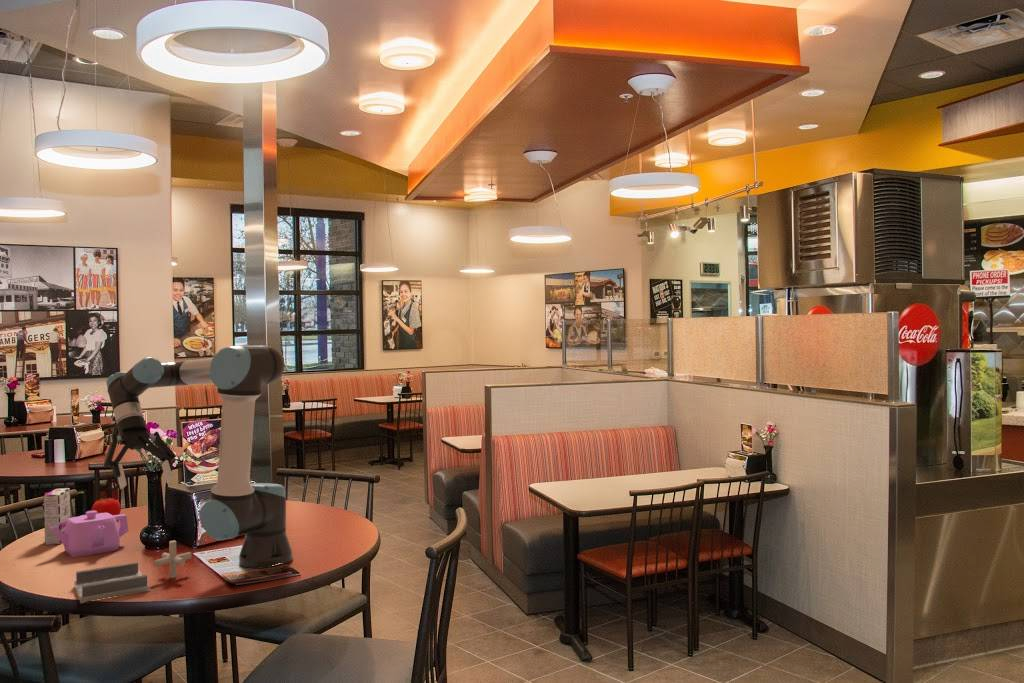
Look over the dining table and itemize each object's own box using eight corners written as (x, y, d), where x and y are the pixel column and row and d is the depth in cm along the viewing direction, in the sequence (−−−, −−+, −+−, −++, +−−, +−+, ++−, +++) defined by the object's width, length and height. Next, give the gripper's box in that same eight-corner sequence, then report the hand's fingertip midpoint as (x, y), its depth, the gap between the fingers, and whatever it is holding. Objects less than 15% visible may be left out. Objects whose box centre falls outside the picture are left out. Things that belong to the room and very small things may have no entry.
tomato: (126, 517, 287) (125, 495, 287) (108, 524, 277) (108, 501, 277) (102, 517, 288) (102, 495, 288) (84, 524, 278) (84, 500, 278)
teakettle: (132, 543, 252) (131, 505, 252) (103, 558, 235) (102, 517, 235) (80, 543, 253) (80, 505, 253) (48, 558, 236) (47, 517, 236)
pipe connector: (181, 569, 222) (181, 534, 222) (199, 576, 216) (198, 540, 216) (146, 578, 215) (146, 542, 215) (164, 585, 208) (163, 548, 208)
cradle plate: (139, 575, 217) (139, 561, 217) (149, 591, 204) (149, 575, 204) (74, 586, 208) (73, 572, 208) (80, 603, 195) (80, 587, 195)
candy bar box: (55, 536, 261) (54, 488, 260) (71, 535, 262) (70, 487, 262) (43, 545, 250) (42, 495, 250) (60, 544, 251) (59, 494, 251)
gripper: (165, 424, 243) (182, 485, 235) (81, 429, 223) (97, 495, 216) (175, 412, 239) (193, 473, 231) (91, 415, 220) (108, 482, 212)
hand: (147, 484), depth 223 cm, fingers open, 13 cm apart
